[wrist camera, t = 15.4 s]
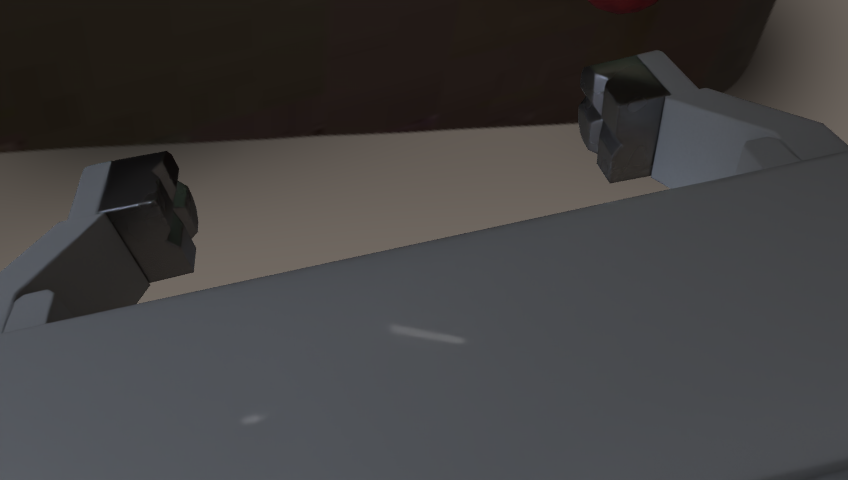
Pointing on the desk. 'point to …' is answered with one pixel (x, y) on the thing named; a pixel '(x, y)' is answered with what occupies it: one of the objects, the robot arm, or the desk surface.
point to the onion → (622, 5)
